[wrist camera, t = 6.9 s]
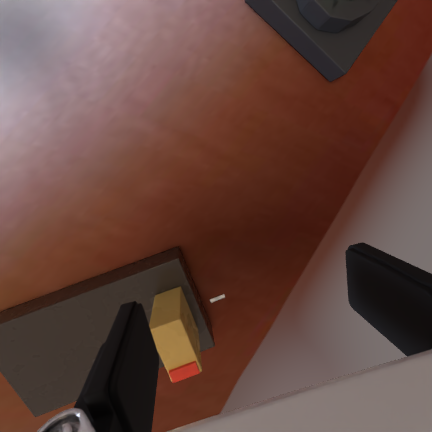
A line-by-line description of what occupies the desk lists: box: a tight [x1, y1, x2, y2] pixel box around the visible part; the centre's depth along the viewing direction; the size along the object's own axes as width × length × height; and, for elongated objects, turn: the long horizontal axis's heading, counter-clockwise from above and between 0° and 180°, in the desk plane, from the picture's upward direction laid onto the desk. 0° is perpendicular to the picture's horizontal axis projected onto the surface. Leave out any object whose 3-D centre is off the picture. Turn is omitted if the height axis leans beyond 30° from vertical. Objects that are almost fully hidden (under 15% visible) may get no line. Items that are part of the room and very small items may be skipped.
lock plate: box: [0, 246, 225, 417], centre depth 23 cm, size 21×10×3 cm, turn 109°
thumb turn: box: [149, 286, 202, 383], centre depth 19 cm, size 5×2×5 cm, turn 17°
